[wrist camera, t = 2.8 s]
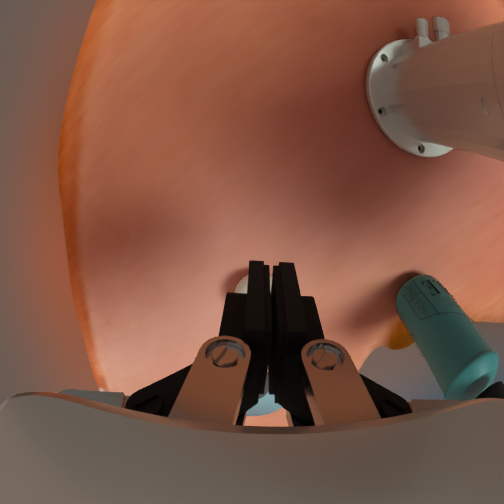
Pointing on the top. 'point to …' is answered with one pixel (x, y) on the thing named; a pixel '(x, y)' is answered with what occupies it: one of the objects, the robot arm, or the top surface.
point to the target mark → (264, 406)
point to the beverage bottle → (448, 341)
